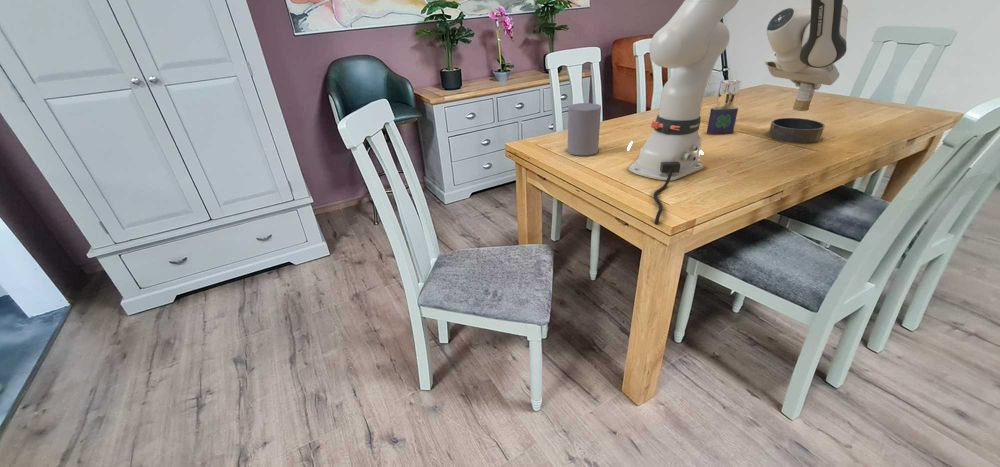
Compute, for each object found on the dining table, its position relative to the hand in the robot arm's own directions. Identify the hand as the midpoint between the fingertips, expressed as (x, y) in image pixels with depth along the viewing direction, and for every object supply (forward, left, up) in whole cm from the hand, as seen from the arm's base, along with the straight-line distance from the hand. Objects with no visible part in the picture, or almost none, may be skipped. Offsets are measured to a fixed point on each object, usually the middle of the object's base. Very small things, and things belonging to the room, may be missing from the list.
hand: (808, 86), depth 134 cm
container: (-55, +49, -17) cm, 75 cm away
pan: (-1, 0, -16) cm, 16 cm away
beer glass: (+6, +26, -17) cm, 31 cm away
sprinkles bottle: (-1, 0, -8) cm, 8 cm away
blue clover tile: (-10, +21, -17) cm, 28 cm away
